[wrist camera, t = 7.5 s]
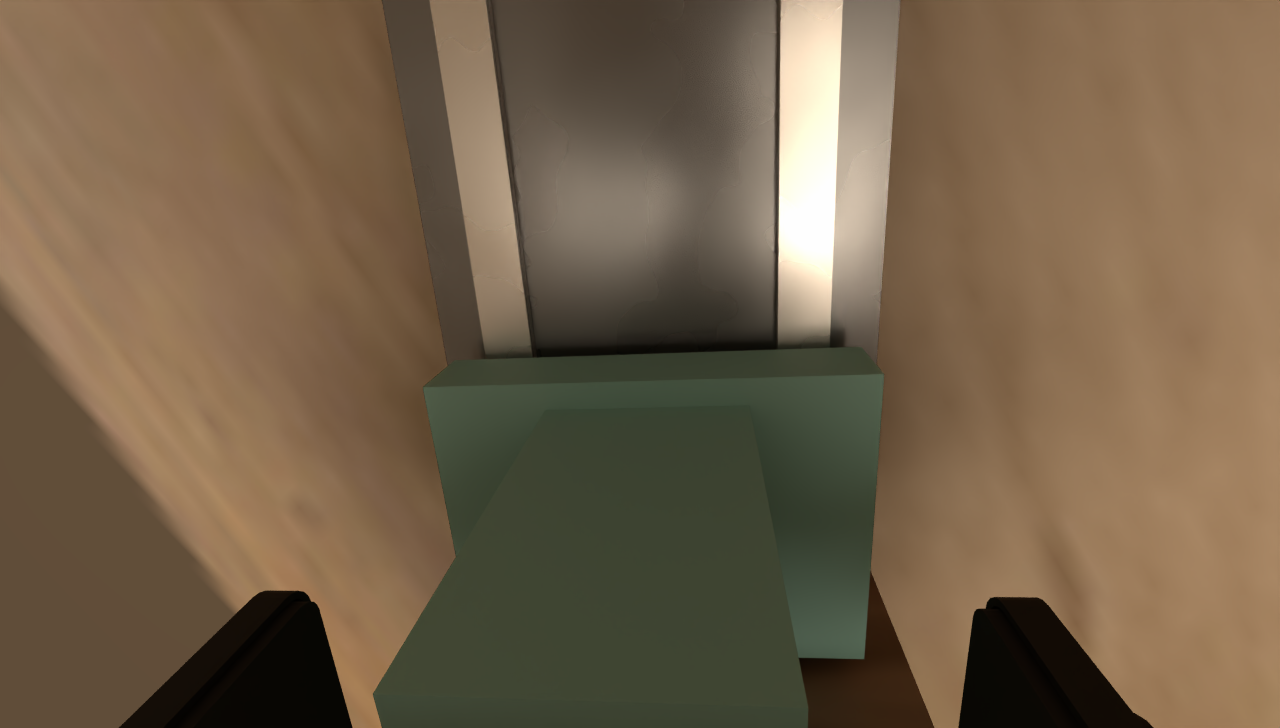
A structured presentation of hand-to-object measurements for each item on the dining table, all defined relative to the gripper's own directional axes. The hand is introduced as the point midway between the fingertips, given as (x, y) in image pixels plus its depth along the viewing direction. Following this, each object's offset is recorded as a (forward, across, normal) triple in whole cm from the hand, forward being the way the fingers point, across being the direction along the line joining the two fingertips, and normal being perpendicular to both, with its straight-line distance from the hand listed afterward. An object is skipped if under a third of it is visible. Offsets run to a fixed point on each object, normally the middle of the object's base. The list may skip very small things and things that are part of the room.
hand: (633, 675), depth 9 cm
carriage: (+4, 0, 0) cm, 5 cm away
